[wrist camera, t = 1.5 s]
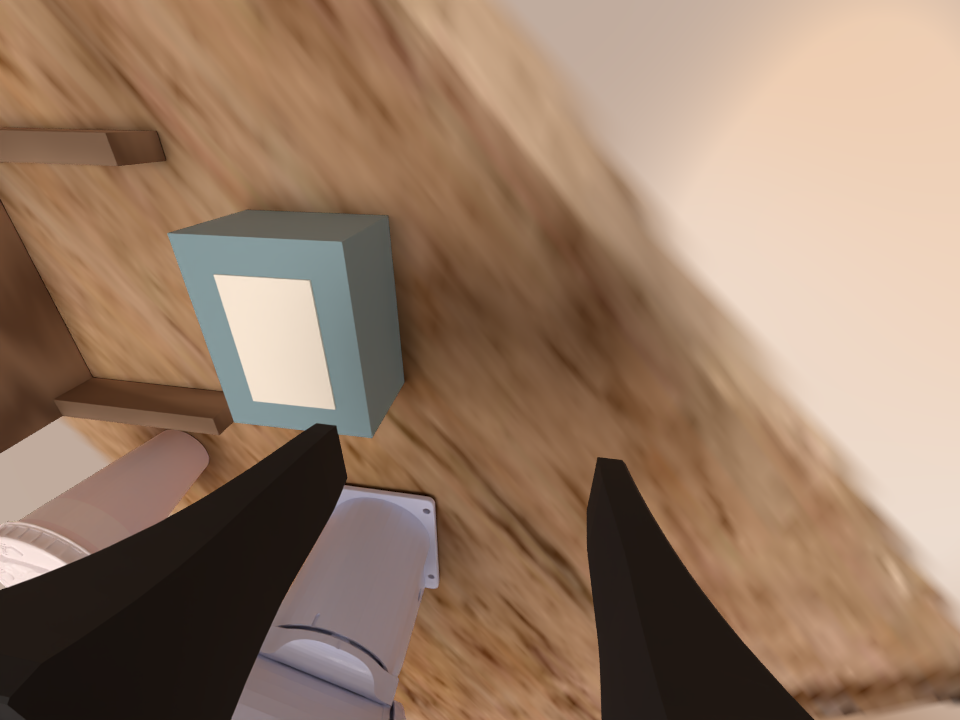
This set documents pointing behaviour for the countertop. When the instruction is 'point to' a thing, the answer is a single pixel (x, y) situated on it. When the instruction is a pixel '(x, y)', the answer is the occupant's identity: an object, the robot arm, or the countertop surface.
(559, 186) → the countertop surface
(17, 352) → the display stand
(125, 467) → the smoothie
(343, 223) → the carton
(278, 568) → the robot arm
